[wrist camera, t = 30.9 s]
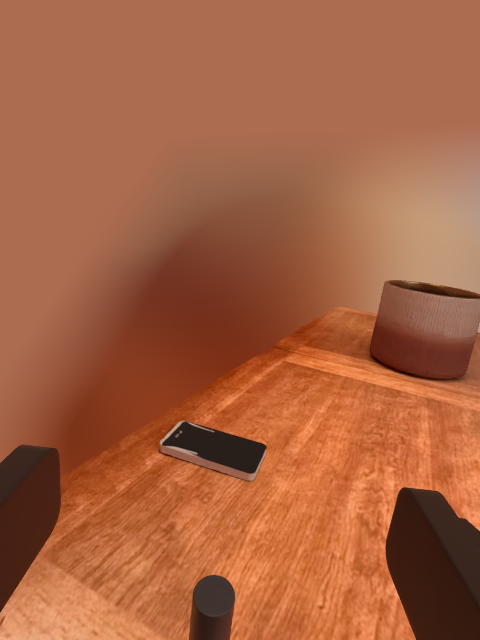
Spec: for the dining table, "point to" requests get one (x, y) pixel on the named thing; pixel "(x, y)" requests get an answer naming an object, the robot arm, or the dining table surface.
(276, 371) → the dining table surface
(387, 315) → the planter
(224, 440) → the smartphone
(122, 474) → the dining table surface
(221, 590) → the dark grey cylinder
